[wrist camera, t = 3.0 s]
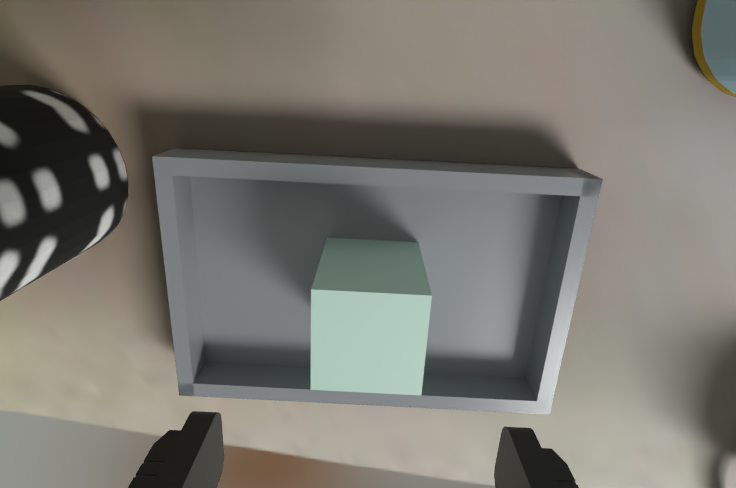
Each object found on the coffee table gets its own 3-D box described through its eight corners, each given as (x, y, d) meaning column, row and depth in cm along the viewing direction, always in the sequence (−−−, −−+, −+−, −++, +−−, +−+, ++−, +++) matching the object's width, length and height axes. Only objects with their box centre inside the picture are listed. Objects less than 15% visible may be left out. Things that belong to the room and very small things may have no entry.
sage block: (418, 242, 23) (431, 295, 17) (411, 322, 25) (421, 395, 19) (327, 237, 23) (311, 289, 17) (325, 318, 25) (310, 389, 19)
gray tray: (578, 168, 22) (602, 179, 20) (534, 384, 26) (549, 414, 24) (175, 147, 22) (152, 156, 20) (196, 367, 27) (179, 395, 24)
